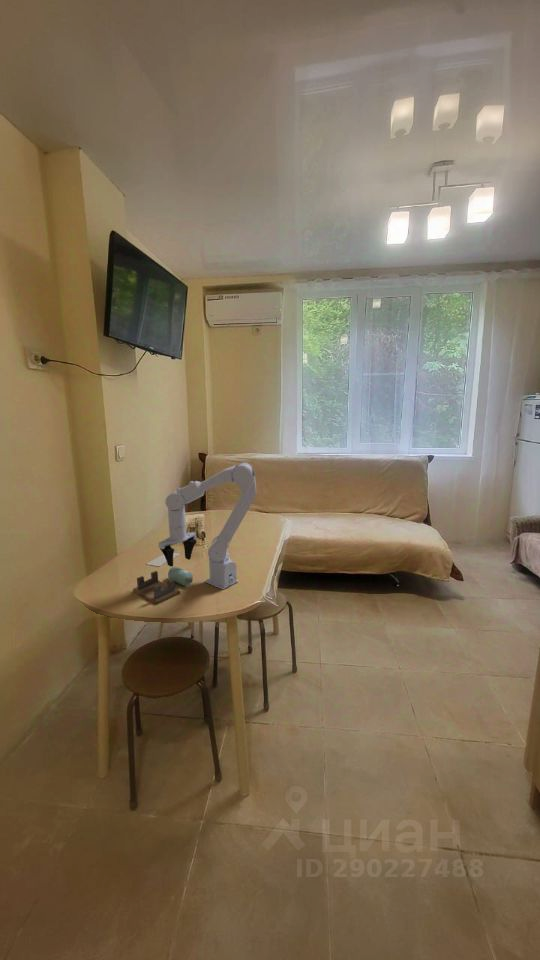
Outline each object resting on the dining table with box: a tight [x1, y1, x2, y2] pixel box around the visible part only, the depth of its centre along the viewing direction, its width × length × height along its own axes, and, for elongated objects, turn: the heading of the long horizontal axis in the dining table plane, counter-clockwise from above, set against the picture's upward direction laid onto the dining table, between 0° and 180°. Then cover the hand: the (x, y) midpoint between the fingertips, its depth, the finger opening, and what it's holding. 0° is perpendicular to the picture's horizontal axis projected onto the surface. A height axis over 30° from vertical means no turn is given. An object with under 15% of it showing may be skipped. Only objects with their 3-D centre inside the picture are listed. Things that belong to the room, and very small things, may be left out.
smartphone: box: [145, 551, 182, 568], centre depth 151 cm, size 7×1×15 cm
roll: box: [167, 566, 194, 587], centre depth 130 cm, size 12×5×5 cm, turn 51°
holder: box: [132, 570, 181, 605], centre depth 122 cm, size 14×9×5 cm, turn 51°
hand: (179, 562), depth 129 cm, fingers open, 7 cm apart
